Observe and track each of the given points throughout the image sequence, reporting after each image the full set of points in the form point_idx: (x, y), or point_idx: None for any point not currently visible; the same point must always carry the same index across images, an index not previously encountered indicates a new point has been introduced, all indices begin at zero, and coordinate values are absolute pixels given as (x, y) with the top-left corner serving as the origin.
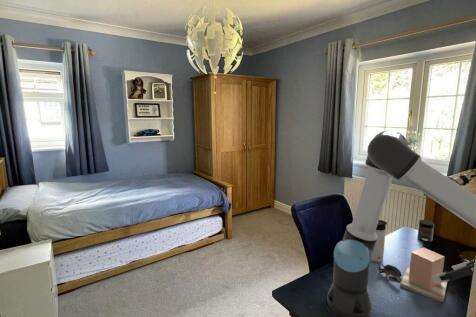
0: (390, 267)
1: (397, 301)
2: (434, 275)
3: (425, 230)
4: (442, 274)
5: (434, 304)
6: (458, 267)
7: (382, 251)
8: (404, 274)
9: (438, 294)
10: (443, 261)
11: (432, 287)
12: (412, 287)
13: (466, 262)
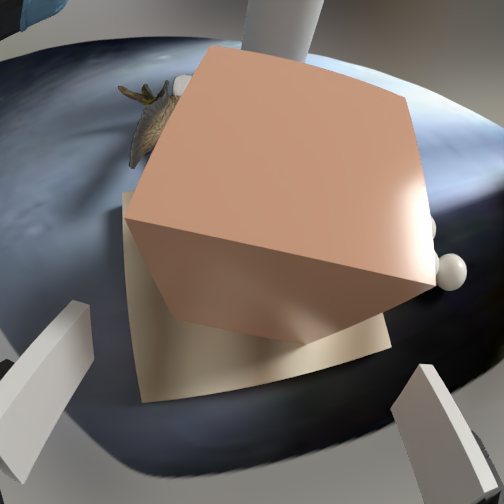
0: (164, 107)
1: (13, 238)
2: (76, 316)
3: None
4: (6, 383)
5: (95, 370)
6: (426, 419)
7: (273, 51)
8: None
9: (165, 371)
10: (387, 303)
11: (209, 325)
12: (123, 245)
13: (478, 486)
